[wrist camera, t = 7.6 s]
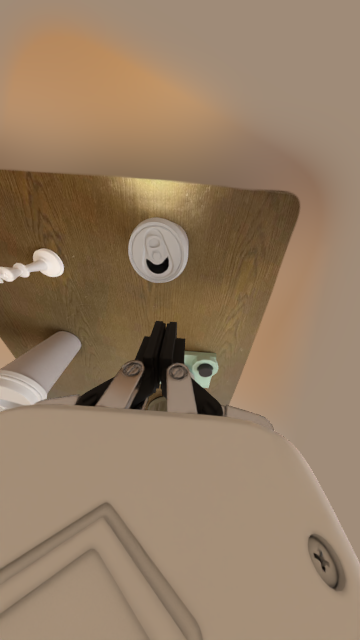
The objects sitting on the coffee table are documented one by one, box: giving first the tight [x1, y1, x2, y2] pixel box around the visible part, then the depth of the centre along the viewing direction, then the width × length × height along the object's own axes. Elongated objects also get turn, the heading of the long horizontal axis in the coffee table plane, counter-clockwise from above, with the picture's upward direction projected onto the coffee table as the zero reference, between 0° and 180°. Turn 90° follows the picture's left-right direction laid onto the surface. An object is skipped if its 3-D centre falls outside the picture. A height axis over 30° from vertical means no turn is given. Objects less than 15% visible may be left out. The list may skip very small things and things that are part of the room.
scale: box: [160, 351, 218, 388], centre depth 39 cm, size 14×12×3 cm
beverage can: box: [128, 218, 188, 283], centre depth 20 cm, size 6×6×12 cm
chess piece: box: [0, 248, 64, 283], centre depth 24 cm, size 5×5×10 cm
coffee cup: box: [0, 331, 81, 410], centre depth 31 cm, size 10×10×15 cm
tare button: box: [198, 363, 212, 377], centre depth 36 cm, size 3×3×2 cm
